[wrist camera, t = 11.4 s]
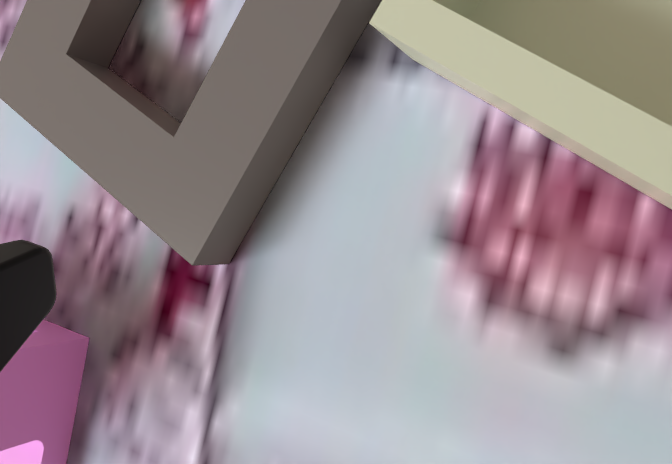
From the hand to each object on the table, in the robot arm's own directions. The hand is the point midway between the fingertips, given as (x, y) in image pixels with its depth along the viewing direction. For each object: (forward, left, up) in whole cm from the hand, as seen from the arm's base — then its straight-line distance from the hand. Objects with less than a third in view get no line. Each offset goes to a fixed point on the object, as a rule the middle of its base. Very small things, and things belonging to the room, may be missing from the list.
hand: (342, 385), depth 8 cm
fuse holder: (+15, -2, -11) cm, 18 cm away
